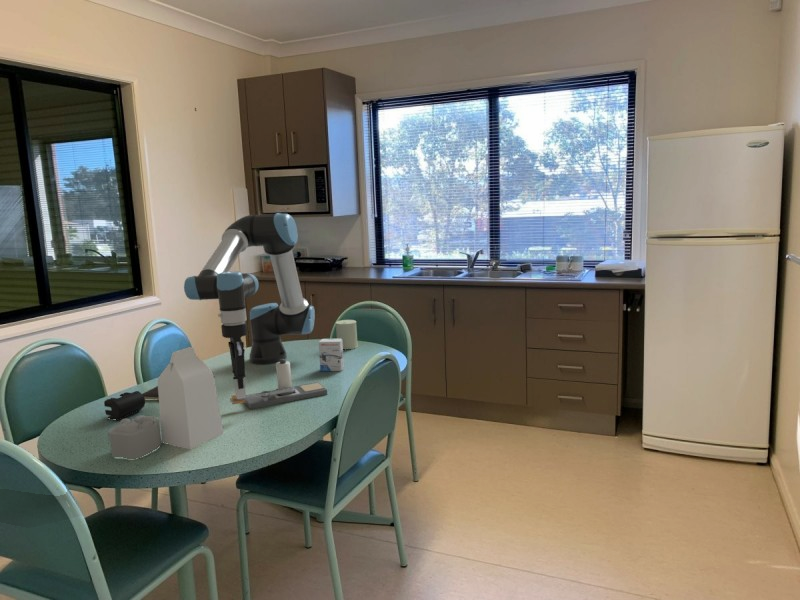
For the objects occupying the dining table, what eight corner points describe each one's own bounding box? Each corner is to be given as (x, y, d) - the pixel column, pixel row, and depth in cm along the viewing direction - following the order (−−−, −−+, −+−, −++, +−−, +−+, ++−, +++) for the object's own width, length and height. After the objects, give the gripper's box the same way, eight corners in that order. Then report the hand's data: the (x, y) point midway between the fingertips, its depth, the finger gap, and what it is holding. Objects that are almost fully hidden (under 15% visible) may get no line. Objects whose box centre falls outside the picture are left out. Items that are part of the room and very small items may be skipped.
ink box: (319, 371, 227) (317, 342, 225) (322, 368, 232) (320, 338, 230) (342, 371, 227) (340, 341, 225) (344, 367, 232) (342, 338, 229)
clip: (230, 402, 190) (229, 395, 190) (291, 391, 198) (290, 384, 198) (231, 405, 187) (230, 397, 187) (293, 394, 196) (292, 386, 195)
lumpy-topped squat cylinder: (106, 457, 159) (102, 427, 157) (141, 438, 171) (137, 409, 169) (137, 461, 155) (133, 430, 154) (171, 441, 167) (167, 412, 166)
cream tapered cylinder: (334, 350, 259) (332, 323, 257) (340, 344, 268) (338, 318, 266) (355, 350, 257) (353, 322, 255) (360, 344, 266) (358, 318, 264)
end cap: (121, 422, 185) (118, 401, 183) (105, 420, 187) (102, 399, 186) (146, 411, 193) (144, 391, 192) (131, 409, 196) (128, 389, 195)
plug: (273, 396, 202) (270, 358, 199) (293, 392, 204) (289, 355, 202) (278, 402, 195) (274, 363, 193) (298, 398, 198) (295, 360, 196)
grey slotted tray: (243, 400, 199) (243, 392, 199) (318, 386, 210) (317, 378, 209) (249, 409, 190) (249, 400, 190) (327, 394, 201) (326, 386, 200)
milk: (190, 450, 161) (179, 357, 156) (162, 443, 166) (150, 353, 162) (223, 433, 171) (214, 346, 167) (195, 427, 177) (185, 343, 172)
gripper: (217, 321, 183) (225, 394, 187) (224, 328, 172) (232, 406, 176) (242, 318, 187) (249, 390, 190) (250, 324, 175) (257, 401, 179)
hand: (241, 397), depth 183 cm, fingers closed
